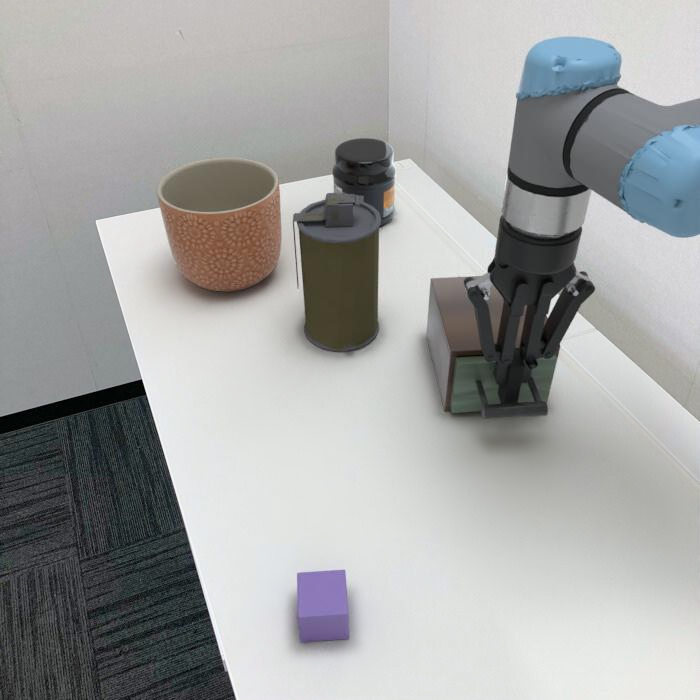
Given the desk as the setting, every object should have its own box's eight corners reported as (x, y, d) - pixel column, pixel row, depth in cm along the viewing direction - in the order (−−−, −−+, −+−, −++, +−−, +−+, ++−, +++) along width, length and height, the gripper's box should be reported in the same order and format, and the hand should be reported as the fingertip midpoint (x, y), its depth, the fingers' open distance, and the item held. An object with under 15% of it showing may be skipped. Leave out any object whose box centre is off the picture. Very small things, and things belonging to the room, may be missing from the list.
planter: (173, 311, 102) (153, 218, 92) (177, 249, 114) (159, 161, 105) (290, 299, 104) (283, 207, 94) (281, 239, 116) (274, 152, 106)
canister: (376, 304, 102) (378, 177, 89) (381, 351, 94) (384, 219, 82) (301, 307, 102) (292, 180, 89) (300, 353, 94) (290, 221, 81)
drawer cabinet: (546, 405, 86) (560, 345, 80) (444, 411, 86) (450, 351, 79) (516, 331, 97) (527, 273, 91) (426, 336, 97) (430, 278, 91)
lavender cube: (349, 639, 64) (348, 614, 61) (300, 642, 64) (297, 617, 61) (346, 595, 67) (345, 569, 64) (299, 598, 67) (297, 572, 64)
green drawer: (559, 442, 80) (572, 393, 75) (460, 448, 80) (467, 398, 75) (517, 336, 95) (526, 289, 90) (433, 341, 94) (437, 293, 89)
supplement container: (403, 207, 124) (406, 142, 116) (380, 236, 117) (381, 169, 109) (349, 196, 128) (348, 132, 120) (323, 223, 120) (320, 157, 113)
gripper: (597, 196, 68) (553, 375, 84) (463, 202, 68) (444, 381, 83) (625, 237, 63) (573, 421, 78) (480, 243, 62) (456, 428, 77)
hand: (506, 401), depth 80 cm, fingers closed
